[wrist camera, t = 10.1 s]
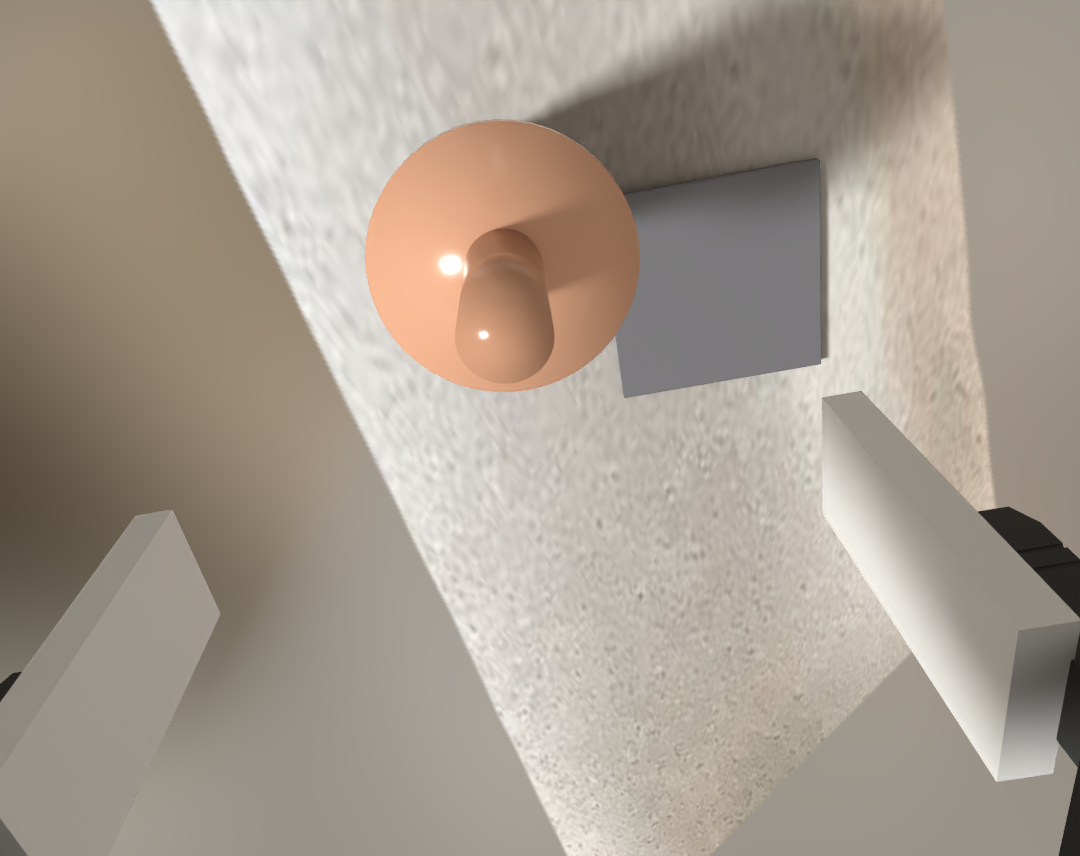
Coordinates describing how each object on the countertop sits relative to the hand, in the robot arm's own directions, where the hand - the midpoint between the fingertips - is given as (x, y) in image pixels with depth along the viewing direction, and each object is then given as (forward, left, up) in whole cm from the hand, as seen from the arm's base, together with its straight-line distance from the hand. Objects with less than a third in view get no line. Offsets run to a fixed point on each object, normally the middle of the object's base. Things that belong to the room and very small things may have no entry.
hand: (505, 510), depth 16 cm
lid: (0, 0, -19) cm, 19 cm away
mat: (+8, +12, -34) cm, 37 cm away
